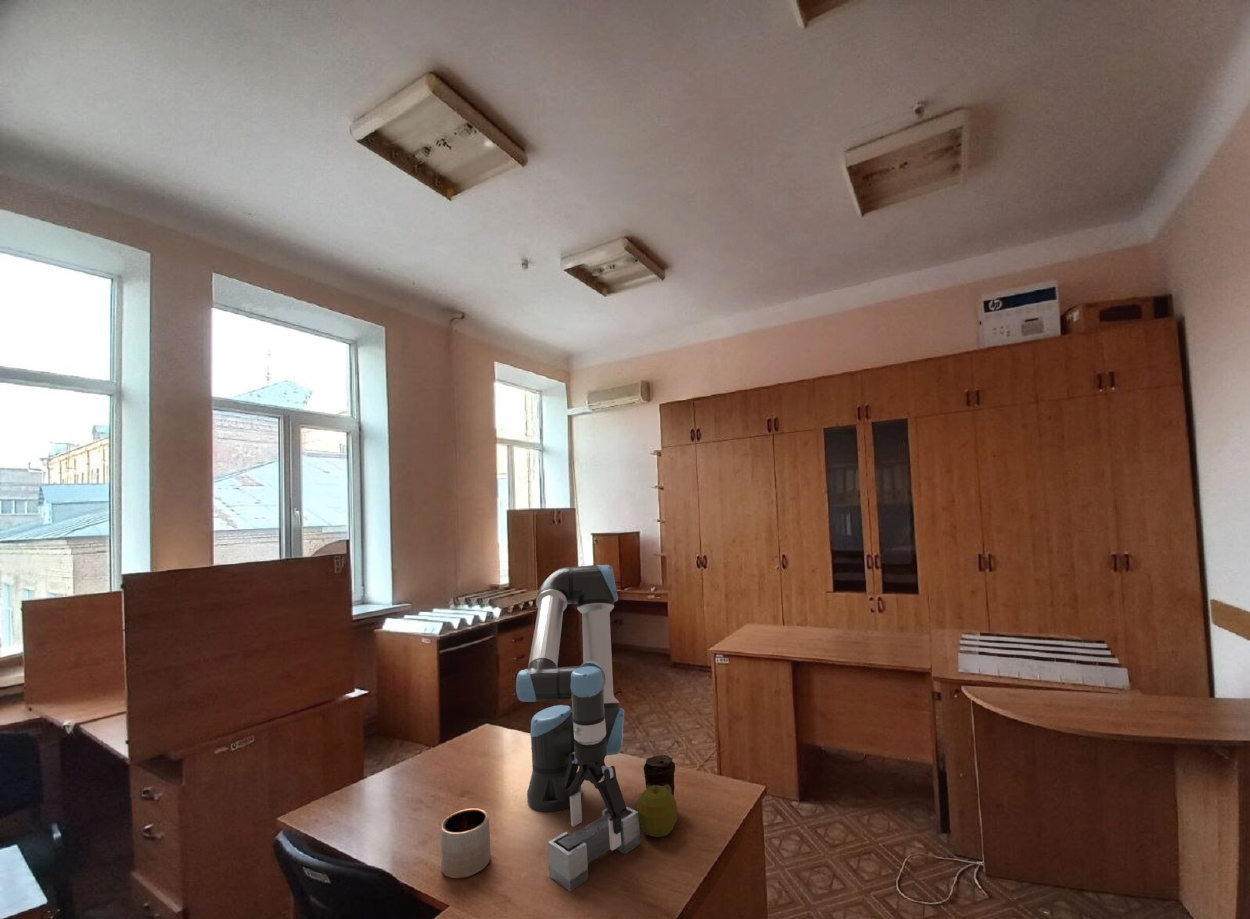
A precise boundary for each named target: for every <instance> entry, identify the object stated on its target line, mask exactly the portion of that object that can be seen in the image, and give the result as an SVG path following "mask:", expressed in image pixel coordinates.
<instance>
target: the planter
mask: <svg viewBox="0 0 1250 919" xmlns="http://www.w3.org/2000/svg"><path fill="white" fill-rule="evenodd" d="M490 833H491V832H490V814H489V812H488V811H487V810H485V809H483V808H478V807H471V808H470V807H469V808H464V809H461V810H457V811H455V812H453V813H451V814H449V815H448V816H447V817H445V818H444V819H443V821H442V822H441V823H440V863H441V865H440V867H441V872H442V874H443V873H444V874H445V875H444V874H443V875H444V876H446V875H447V876H446V877H448V876H449V877H448V878H450V877H452V878H451V879H455V878H461V879H465V877H466V878H469V876H470V877H472V876H475V875H476V873H477V874H478V873H479V872H481V871H482V870H484V869H485V868H486V867H487V865H488V864H489V863H490V861H491V856H492V855H491V854H492V853H491V852H492V851H491V836H490V835H491V834H490ZM474 874H475V875H474ZM471 875H472V876H471Z"/></svg>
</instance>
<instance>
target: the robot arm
mask: <svg viewBox="0 0 1250 919" xmlns="http://www.w3.org/2000/svg"><path fill="white" fill-rule="evenodd" d="M535 599H536V600H535V605H536V607H537V608H538V609H537V614H536V619H535V625H534V626H535V627H534V631H533V636H532V643H531V649H530V653H529V654H530V655H529V661H528V666H527V668H525V669H521V670H519V671H518V673H517V676H516V680H515V681H516V682H515V686H516V696H517V699H518V700H519V701H520V702H526V703H527V702H528V703H529V702H530V703H531V702H533V703H536V702H543V701H555V700H556V701H557V700H570V699H571V705H572V706H569V705H565V704H558V705H553V706H550V707H546V708H543V709H542V710H540V711H538V712H536V713H535V714H534V715H533V716H532V718H531V721H530V734H529V736H530V742H531V763H532V771H531V772H532V773H531V776H530V780H529V784H528V789H527V791H526V797H527V798H526V799H527V801H526V802H527V804H528V807H530V808H531V809H533V810H536V811H541V812H556V811H560V810H564V809H567V808H570V825H571V826H572V827H575V826H577V825H578V824H580V823H582V822H583V815H582V812H583V811H582V793H583V792H582V785H583V783H584V782H585V781H588V782H589V783H590V784H593V786H594V788H595V789H596V790H597V791H599V794H600V796H601V799H602V800H603V803H604V805H605V808H607V809H608V812H609V814H610V817H609V818H608V822H609V839H610V850H611V851H614V850H617V849H616V848H617V847H619V846H620V845H621V831H622V825H621V818H622V817H624V816H625V815H627V814H628V811H627V808H626V806H627V805H626V803H625V799H624V796H623V793H622V790H621V787H620V784H619V781H618V778H617V771H616V766H614V765H611V766H610V767H609V766H606V762H605V759H606V757H607V756H613V755H618V754H620V753H621V751H622V749H623V740H624V726H625V709H624V708H622V707H620V701H619V700H618V699H617V698H616V697H615V695H614V678H613V676H614V675H613V659H612V658H613V657H612V640H611V635H612V634H611V616H610V613H611V612H612V611H613V609H614V608H615V602H618V601H619V596H618V591H617V586H616V579H615V575H614V569H613V567H612V566H611V565H609V564H597V563H596V564H593V565H581V566H566V567H561V568H559V569H557V570H555V571H554V572H552V573H551V574H549V576H548V577H546V579H545V580H544V581H543V583H542V584H541V585H540V587H539V590H538V591H537V594H536V598H535ZM568 605H576V609H577V610H578V612H579V613H580V614H581V616H582V617H581V622H582V659H583V660H582V661H583V662H582V664H581V665H575V666H562V667H558V662H559V655H560V654H559V653H560V644H561V634H562V626H563V625H562V624H563V617H564V611H565V610H566V609H567V607H568ZM571 707H572V708H571ZM602 779H603V780H602ZM601 780H602V781H601ZM614 811H615V812H614Z"/></svg>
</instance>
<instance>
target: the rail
mask: <svg viewBox="0 0 1250 919" xmlns="http://www.w3.org/2000/svg"><path fill="white" fill-rule="evenodd" d="M614 812H615V811H614ZM609 817H610V814H609V813H608V814H606V815H604V816H603V815H602V816H601V817H599V818H597V819H596V820H594V821H591V822H590V823H588V824H587V825H585V826H583V827H581V828H579V829H578V830H576V831H574V832H572V833H570V834H568V836H567V837H565V838H563V839H561V840H560V841H558V845H559V846H560V847H562V848H564V849H565V850H567V851H568V852H570V851H571V850H573V849H574V848H576V847H578V846H579V845H581V844H583V843H586V844H587V863H588V864H589V863H591V862H592V861H593V860H595V859H597V858H598V857H600V856H602V855H603V854H604V853H606V852H608V851H609V850H611V849H610V839H609V822H608V818H609ZM625 817H627V815H625V816H624V817H622V818H621V820H622V819H623V818H625ZM621 842H622V834H621Z"/></svg>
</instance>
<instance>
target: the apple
mask: <svg viewBox="0 0 1250 919" xmlns="http://www.w3.org/2000/svg"><path fill="white" fill-rule="evenodd" d="M677 805H678V804H677V801H676V799H675V797H673V795H672V794H671V793H670V792H669V791H668V790H667V789H666V788H664V787H663V786H659V785H653V786H651V787H649V788H647V789H646V788H645V790H643V792H641V794H640V795H639V797H638V801H637V805H636V811H637V812H638V817H639V826H641V828H642V830H643V832H644V833H645V834H646V835H647V836H650V837H653V838H654V837H655V838H664V837H666V836H667V835H669V834H670V833H672V831H673V829H674V828H675V825H676V823H677V820H678V806H677Z"/></svg>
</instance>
